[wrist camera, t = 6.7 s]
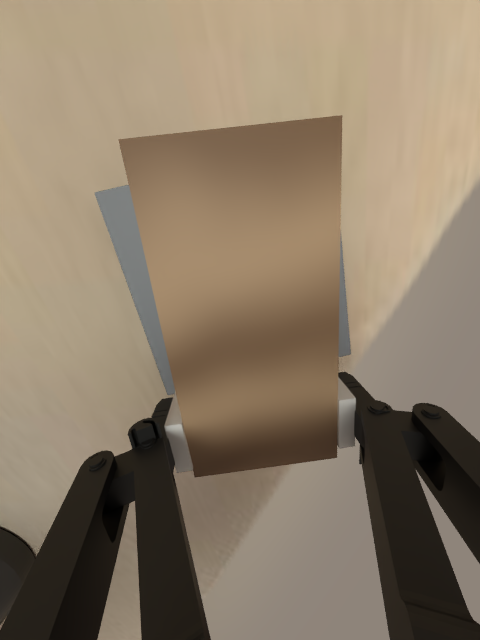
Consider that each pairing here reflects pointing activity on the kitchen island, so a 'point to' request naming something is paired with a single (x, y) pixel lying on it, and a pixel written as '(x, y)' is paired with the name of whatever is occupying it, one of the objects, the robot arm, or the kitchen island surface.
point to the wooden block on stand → (246, 284)
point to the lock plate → (134, 266)
